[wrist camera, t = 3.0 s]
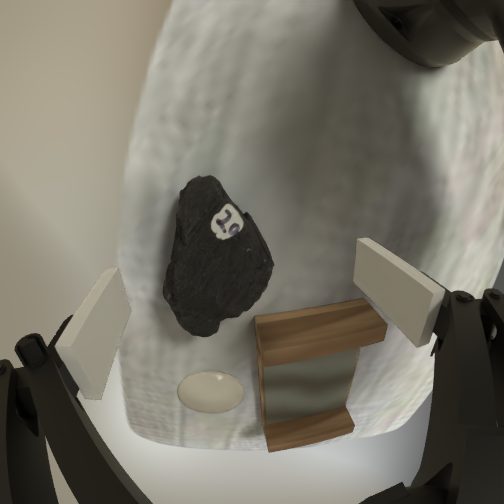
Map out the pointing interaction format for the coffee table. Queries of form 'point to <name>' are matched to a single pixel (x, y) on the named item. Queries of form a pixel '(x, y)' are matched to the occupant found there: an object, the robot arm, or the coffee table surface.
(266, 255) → the mineral
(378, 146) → the coffee table surface
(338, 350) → the rest
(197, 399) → the cream glossy rounded part
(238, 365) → the coffee table surface
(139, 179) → the coffee table surface
